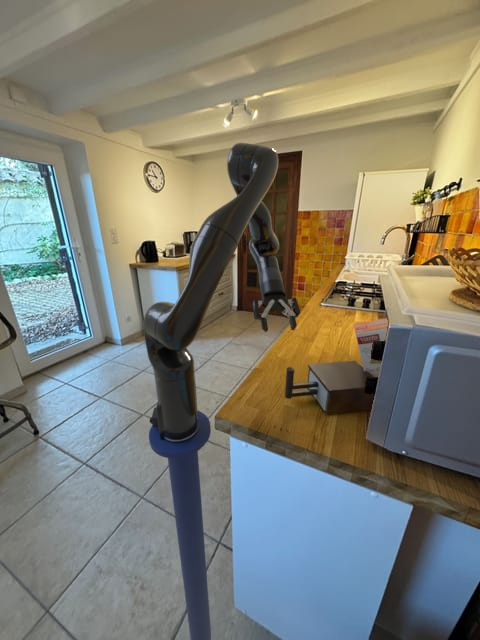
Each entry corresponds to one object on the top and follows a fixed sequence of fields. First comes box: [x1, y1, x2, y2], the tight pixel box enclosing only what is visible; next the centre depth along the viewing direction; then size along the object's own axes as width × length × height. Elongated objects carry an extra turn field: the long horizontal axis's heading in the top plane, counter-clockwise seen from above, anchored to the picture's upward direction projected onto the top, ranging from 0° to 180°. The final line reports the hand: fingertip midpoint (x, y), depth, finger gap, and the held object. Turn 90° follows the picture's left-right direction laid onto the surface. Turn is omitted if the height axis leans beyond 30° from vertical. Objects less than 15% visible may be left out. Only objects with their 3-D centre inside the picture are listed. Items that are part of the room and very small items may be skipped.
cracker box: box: [353, 317, 388, 377], centre depth 72 cm, size 14×6×21 cm, turn 71°
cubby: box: [307, 360, 374, 415], centre depth 73 cm, size 16×14×8 cm
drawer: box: [284, 366, 329, 412], centre depth 72 cm, size 23×11×10 cm, turn 99°
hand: (280, 330), depth 76 cm, fingers open, 8 cm apart
